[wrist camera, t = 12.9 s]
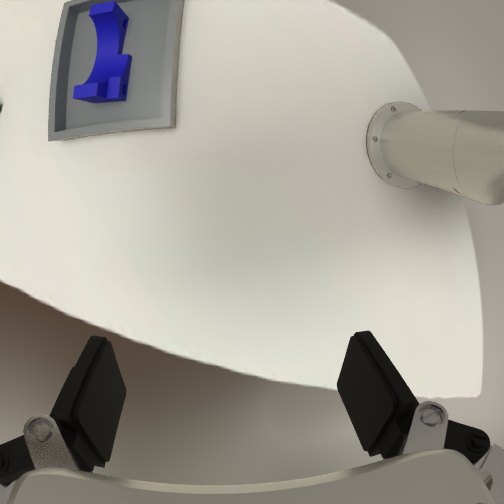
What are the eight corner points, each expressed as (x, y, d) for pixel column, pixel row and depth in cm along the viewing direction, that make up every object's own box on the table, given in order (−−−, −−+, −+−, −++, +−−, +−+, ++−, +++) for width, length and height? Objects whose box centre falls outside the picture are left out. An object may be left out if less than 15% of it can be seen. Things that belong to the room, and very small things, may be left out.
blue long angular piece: (126, 100, 29) (108, 94, 24) (94, 103, 29) (72, 98, 23) (140, 17, 25) (127, -2, 20) (108, 21, 25) (91, 5, 19)
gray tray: (185, -9, 25) (181, -22, 21) (175, 127, 32) (169, 126, 29) (76, 11, 23) (64, 2, 20) (63, 140, 31) (48, 141, 27)
